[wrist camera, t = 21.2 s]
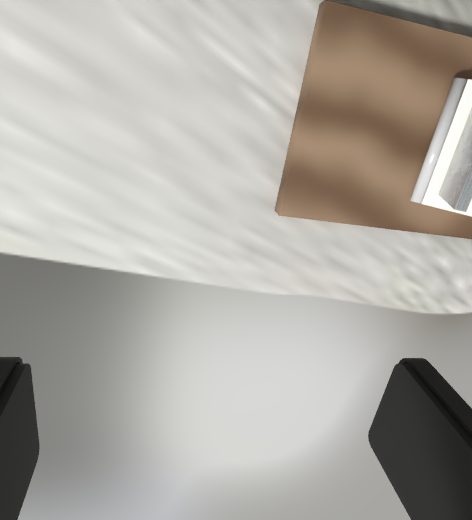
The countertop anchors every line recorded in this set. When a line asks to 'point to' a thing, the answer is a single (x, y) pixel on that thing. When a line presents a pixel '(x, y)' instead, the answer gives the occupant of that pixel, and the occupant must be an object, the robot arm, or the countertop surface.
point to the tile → (444, 146)
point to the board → (371, 121)
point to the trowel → (460, 172)
